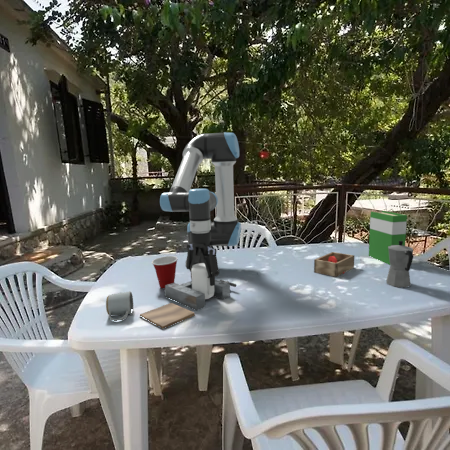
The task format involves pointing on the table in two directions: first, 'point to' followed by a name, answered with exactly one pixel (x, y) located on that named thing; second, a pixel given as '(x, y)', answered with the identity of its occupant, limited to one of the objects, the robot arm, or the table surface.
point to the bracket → (333, 260)
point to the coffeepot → (399, 265)
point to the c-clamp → (196, 293)
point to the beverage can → (200, 279)
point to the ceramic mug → (119, 304)
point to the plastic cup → (165, 269)
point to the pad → (167, 315)
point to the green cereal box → (386, 233)
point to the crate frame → (334, 264)
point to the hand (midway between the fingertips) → (203, 290)
